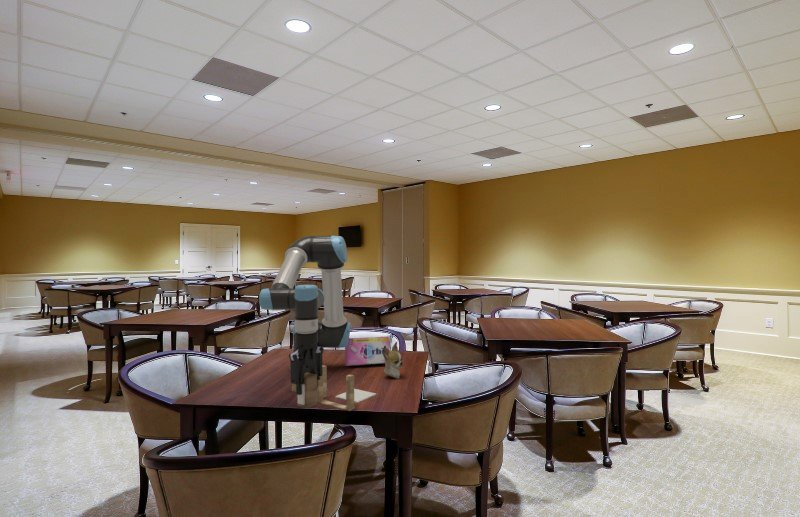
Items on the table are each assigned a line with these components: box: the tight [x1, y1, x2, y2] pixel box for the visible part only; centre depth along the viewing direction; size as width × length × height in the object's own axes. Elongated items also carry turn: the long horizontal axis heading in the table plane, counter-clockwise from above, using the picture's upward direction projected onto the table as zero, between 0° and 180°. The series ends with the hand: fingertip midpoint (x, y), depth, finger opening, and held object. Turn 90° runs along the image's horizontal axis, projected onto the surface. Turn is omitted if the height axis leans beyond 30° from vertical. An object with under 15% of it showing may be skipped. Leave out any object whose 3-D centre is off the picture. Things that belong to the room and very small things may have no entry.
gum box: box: [344, 336, 391, 367], centre depth 208 cm, size 22×7×13 cm, turn 103°
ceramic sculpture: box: [383, 341, 403, 380], centre depth 186 cm, size 11×9×15 cm
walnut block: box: [296, 372, 318, 409], centre depth 141 cm, size 4×4×10 cm
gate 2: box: [317, 369, 355, 412], centre depth 151 cm, size 17×2×12 cm, turn 56°
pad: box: [334, 388, 377, 404], centre depth 161 cm, size 11×11×1 cm
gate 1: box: [291, 364, 328, 399], centre depth 164 cm, size 17×2×12 cm, turn 56°
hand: (307, 401), depth 141 cm, fingers closed on walnut block, 4 cm apart
